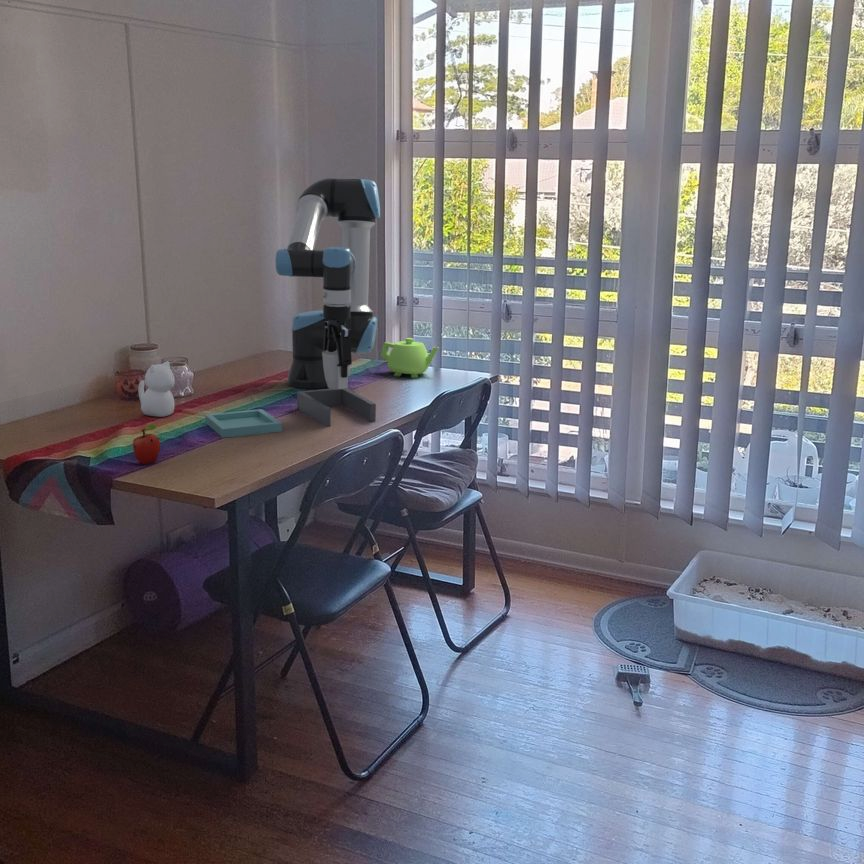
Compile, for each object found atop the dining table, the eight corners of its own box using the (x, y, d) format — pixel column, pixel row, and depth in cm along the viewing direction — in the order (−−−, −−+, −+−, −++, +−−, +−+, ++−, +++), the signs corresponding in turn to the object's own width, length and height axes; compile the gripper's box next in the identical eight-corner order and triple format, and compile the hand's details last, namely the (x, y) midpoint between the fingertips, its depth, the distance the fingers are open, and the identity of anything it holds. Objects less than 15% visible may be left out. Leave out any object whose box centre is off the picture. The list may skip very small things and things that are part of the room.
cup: (346, 391, 267) (346, 356, 265) (318, 389, 269) (318, 354, 266) (354, 385, 275) (354, 350, 272) (327, 382, 277) (327, 348, 274)
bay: (297, 408, 280) (297, 391, 279) (344, 403, 287) (344, 387, 286) (325, 426, 262) (325, 408, 260) (375, 421, 269) (375, 403, 267)
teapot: (442, 373, 333) (443, 337, 329) (431, 381, 320) (433, 343, 317) (387, 368, 337) (387, 333, 334) (374, 376, 325) (375, 339, 322)
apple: (125, 464, 225) (123, 423, 222) (143, 457, 231) (141, 416, 228) (153, 469, 222) (150, 427, 219) (170, 461, 228) (168, 420, 226)
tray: (205, 422, 262) (205, 414, 261) (262, 417, 270) (261, 409, 269) (222, 437, 249) (222, 429, 248) (281, 431, 256) (281, 423, 255)
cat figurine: (161, 421, 263) (159, 367, 259) (127, 414, 268) (125, 361, 264) (184, 414, 270) (182, 362, 266) (150, 407, 276) (148, 356, 272)
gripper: (310, 299, 272) (311, 378, 279) (338, 311, 255) (338, 394, 261) (334, 298, 276) (335, 375, 282) (364, 309, 258) (364, 392, 265)
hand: (336, 384), depth 272 cm, fingers closed on cup, 8 cm apart
